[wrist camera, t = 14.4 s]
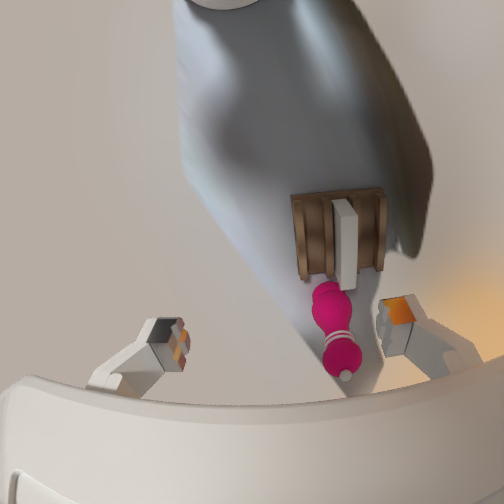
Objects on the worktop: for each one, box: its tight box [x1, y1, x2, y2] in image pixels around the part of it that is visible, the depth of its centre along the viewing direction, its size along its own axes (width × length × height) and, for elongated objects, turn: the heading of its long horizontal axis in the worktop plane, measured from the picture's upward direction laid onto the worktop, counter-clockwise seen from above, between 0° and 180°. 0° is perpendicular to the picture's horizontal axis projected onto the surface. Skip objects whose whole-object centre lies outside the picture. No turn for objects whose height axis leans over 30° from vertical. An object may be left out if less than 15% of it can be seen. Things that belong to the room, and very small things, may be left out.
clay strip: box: [331, 199, 358, 290], centre depth 42 cm, size 12×2×7 cm, turn 9°
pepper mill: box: [312, 281, 362, 382], centre depth 43 cm, size 7×7×20 cm
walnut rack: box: [291, 188, 387, 280], centre depth 44 cm, size 14×15×4 cm
